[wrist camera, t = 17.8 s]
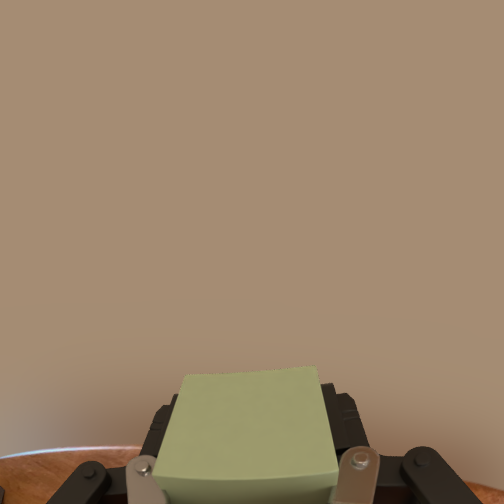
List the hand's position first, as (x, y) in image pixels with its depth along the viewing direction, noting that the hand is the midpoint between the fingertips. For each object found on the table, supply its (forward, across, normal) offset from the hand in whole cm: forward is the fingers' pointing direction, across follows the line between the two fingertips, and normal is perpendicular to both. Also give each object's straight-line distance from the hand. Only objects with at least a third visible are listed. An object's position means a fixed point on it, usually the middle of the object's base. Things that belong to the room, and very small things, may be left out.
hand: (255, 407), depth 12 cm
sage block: (-3, 0, -7) cm, 7 cm away
